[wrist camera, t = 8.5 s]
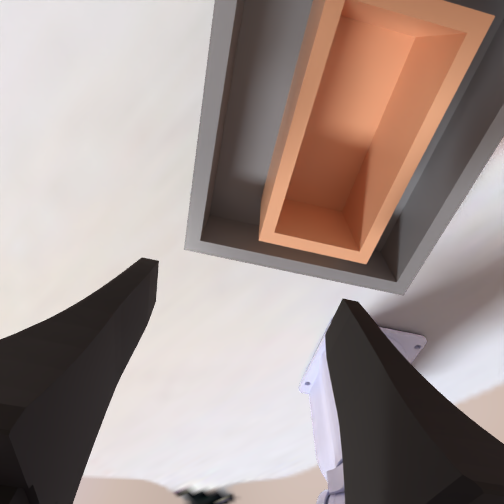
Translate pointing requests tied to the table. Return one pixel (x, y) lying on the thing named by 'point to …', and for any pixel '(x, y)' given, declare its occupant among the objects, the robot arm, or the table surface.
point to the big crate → (266, 131)
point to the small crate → (362, 118)
